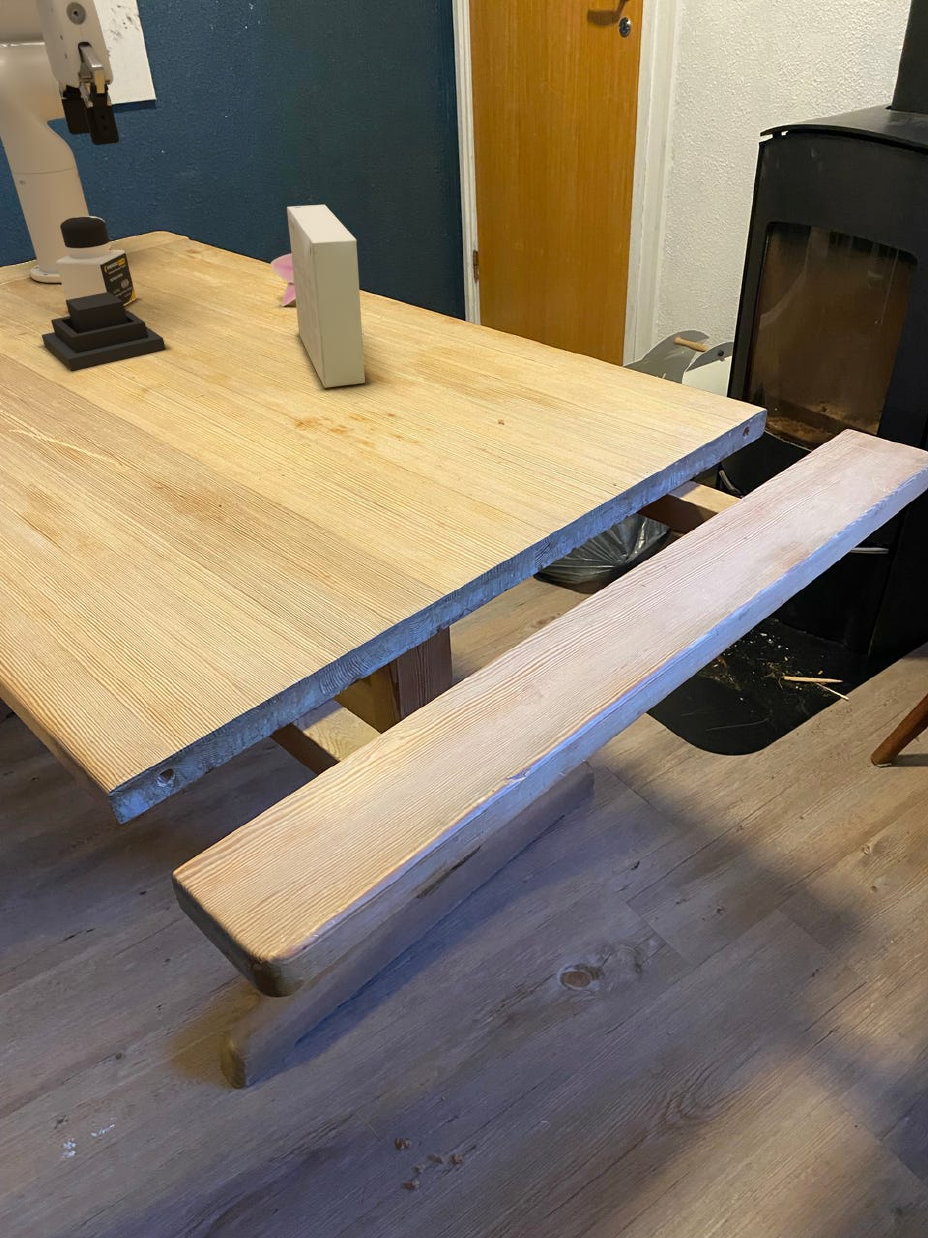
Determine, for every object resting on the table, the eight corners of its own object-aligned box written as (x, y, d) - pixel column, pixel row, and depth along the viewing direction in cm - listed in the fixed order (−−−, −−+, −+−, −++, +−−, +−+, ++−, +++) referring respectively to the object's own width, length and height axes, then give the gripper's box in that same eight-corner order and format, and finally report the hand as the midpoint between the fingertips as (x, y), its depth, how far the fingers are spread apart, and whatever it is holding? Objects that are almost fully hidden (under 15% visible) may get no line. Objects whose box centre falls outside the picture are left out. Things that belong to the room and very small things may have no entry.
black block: (75, 335, 117) (65, 299, 115) (117, 326, 120) (109, 291, 117) (87, 346, 114) (77, 310, 111) (131, 336, 116) (122, 301, 114)
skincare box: (371, 384, 104) (357, 238, 95) (324, 390, 103) (306, 243, 94) (339, 329, 121) (325, 201, 112) (298, 334, 120) (281, 204, 111)
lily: (275, 301, 136) (247, 250, 128) (341, 259, 137) (317, 207, 128) (307, 346, 130) (280, 296, 122) (376, 302, 131) (354, 250, 122)
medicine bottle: (113, 313, 130) (90, 224, 123) (68, 312, 131) (43, 223, 124) (137, 299, 135) (117, 213, 128) (94, 297, 137) (72, 212, 130)
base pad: (44, 345, 119) (36, 319, 117) (133, 326, 124) (127, 300, 122) (71, 370, 111) (63, 342, 109) (165, 349, 116) (159, 321, 114)
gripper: (111, -30, 99) (146, 144, 110) (67, -31, 111) (102, 126, 121) (41, -28, 96) (84, 151, 106) (3, -30, 107) (45, 132, 118)
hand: (94, 138), depth 114 cm, fingers open, 9 cm apart
